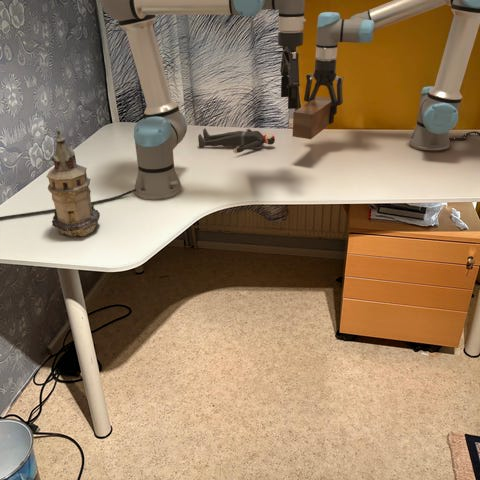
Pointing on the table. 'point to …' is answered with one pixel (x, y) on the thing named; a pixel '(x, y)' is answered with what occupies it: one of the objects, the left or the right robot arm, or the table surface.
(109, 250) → the table surface
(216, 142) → the toy
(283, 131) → the table surface
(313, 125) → the box
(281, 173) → the table surface
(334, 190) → the table surface
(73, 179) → the miniature building
